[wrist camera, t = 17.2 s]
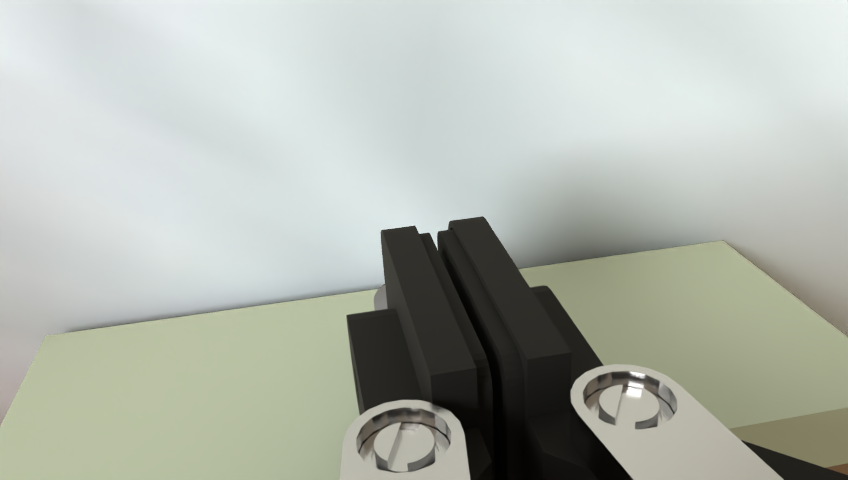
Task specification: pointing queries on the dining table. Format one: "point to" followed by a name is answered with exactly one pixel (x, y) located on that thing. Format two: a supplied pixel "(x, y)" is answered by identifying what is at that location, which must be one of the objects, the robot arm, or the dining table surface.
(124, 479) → the tray
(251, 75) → the dining table surface
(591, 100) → the dining table surface
